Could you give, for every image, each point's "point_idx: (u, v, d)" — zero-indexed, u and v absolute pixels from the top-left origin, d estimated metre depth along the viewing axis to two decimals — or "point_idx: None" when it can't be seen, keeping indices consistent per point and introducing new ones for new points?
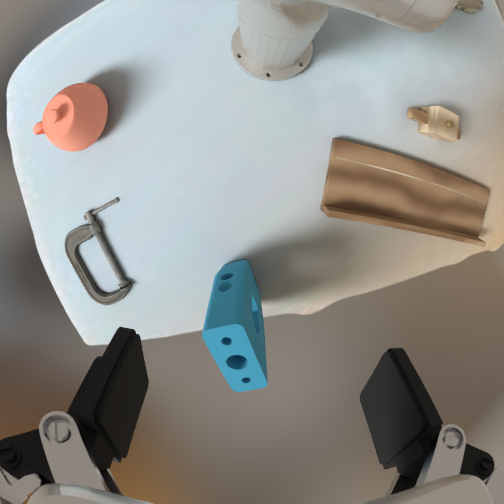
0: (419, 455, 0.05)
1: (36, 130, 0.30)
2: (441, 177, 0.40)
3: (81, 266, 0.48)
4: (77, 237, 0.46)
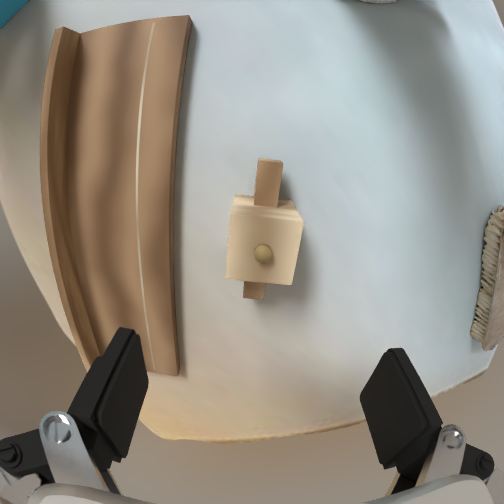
0: (419, 455, 0.05)
1: None
2: (155, 260, 0.25)
3: None
4: None
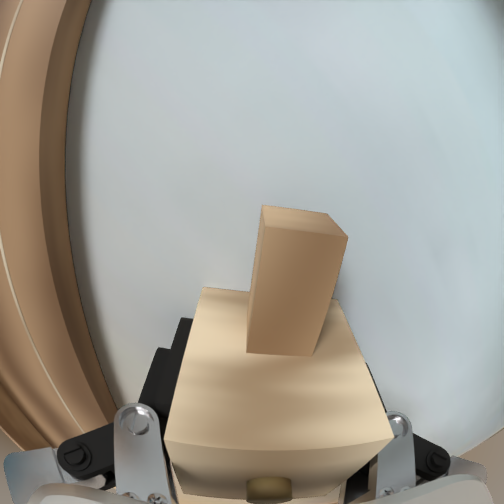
0: None
1: None
2: (71, 385, 0.10)
3: None
4: None
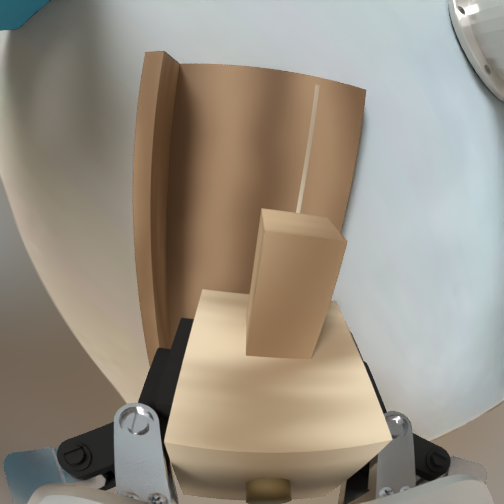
0: None
1: None
2: None
3: None
4: None
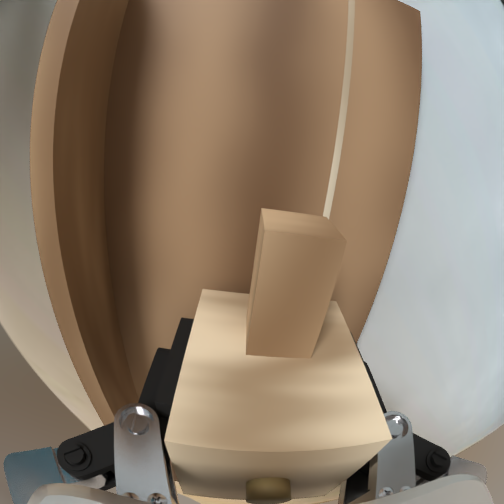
0: None
1: None
2: None
3: None
4: None
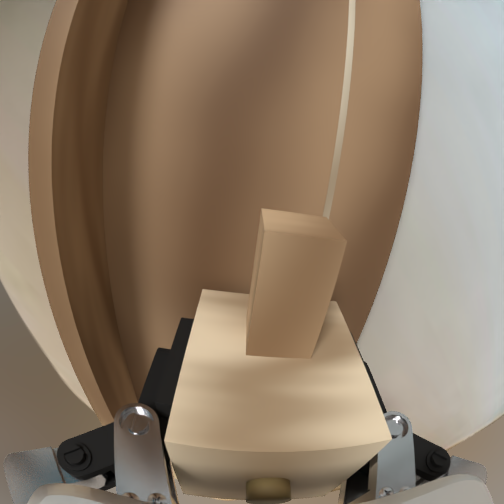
0: None
1: None
2: (353, 271, 0.10)
3: None
4: None
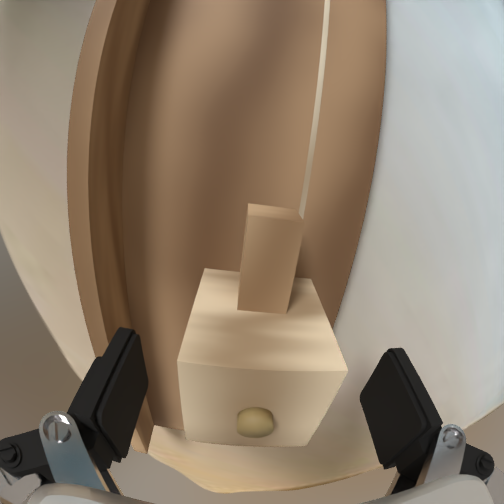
0: (419, 455, 0.05)
1: None
2: (328, 249, 0.12)
3: None
4: None
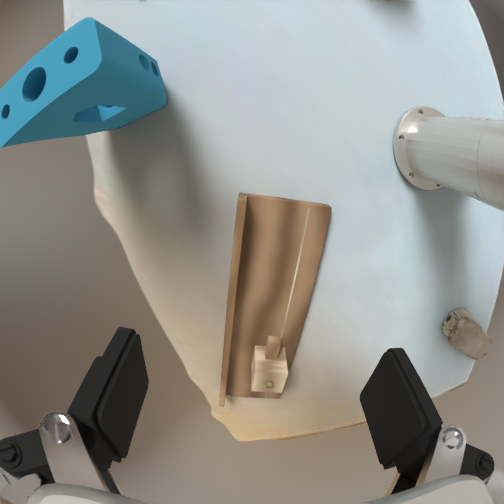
0: (419, 455, 0.05)
1: None
2: (289, 340, 0.43)
3: None
4: None
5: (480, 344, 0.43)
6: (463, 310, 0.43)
